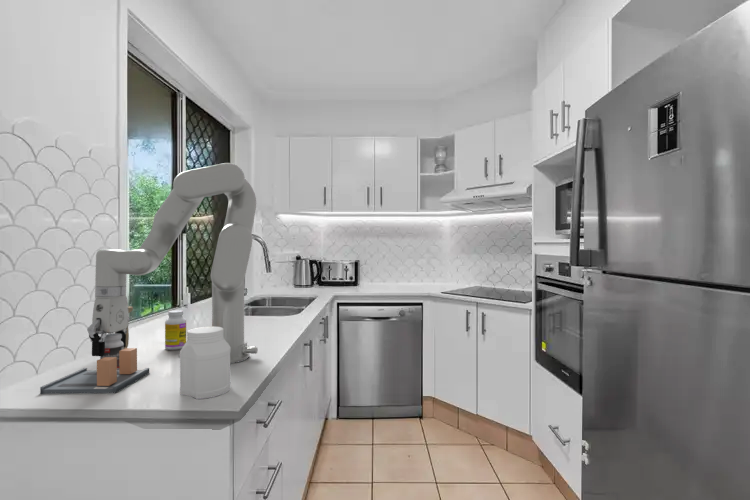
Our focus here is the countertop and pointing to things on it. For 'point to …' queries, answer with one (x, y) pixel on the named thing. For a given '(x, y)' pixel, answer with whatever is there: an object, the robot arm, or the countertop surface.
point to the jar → (205, 363)
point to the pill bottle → (113, 346)
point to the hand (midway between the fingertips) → (109, 351)
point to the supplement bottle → (175, 330)
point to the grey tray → (90, 382)
